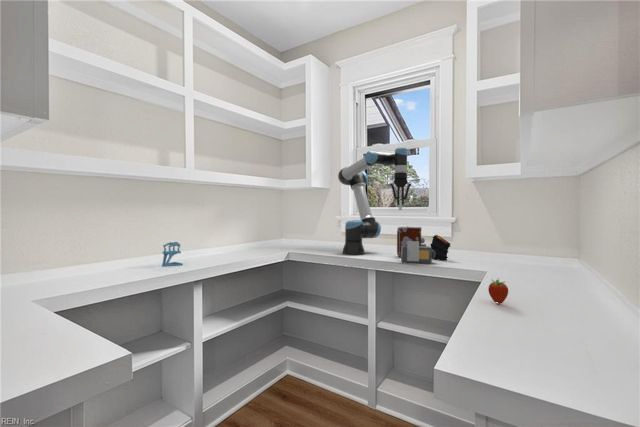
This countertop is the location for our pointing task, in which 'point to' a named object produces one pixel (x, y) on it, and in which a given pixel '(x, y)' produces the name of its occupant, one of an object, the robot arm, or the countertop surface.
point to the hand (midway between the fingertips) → (400, 210)
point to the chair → (171, 254)
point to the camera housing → (424, 255)
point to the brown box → (408, 237)
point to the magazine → (440, 248)
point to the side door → (412, 250)
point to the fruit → (498, 291)
